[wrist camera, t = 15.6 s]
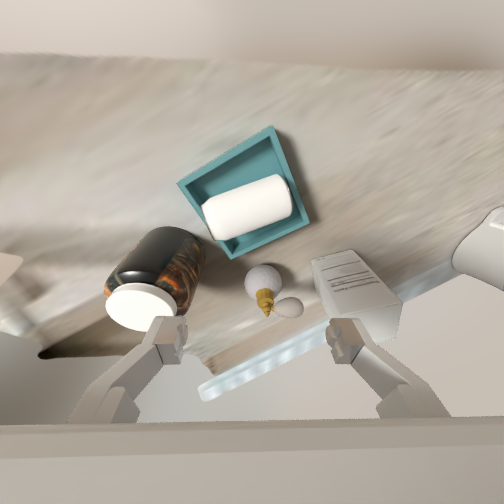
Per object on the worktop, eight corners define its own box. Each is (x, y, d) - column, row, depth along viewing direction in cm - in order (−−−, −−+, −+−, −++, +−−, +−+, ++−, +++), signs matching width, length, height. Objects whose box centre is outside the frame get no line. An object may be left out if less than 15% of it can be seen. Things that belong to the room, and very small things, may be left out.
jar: (183, 215, 34) (149, 266, 21) (214, 264, 40) (202, 326, 27) (129, 239, 36) (68, 297, 23) (166, 282, 42) (134, 347, 29)
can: (285, 170, 24) (196, 202, 24) (298, 218, 27) (216, 249, 26) (272, 175, 31) (200, 201, 30) (283, 213, 33) (216, 238, 32)
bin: (268, 126, 27) (272, 125, 24) (303, 213, 35) (309, 223, 31) (183, 177, 31) (176, 183, 27) (231, 247, 38) (230, 259, 34)
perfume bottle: (238, 266, 41) (236, 311, 30) (280, 248, 39) (294, 290, 28) (253, 289, 44) (257, 336, 34) (293, 274, 42) (309, 319, 32)
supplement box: (353, 280, 44) (398, 340, 31) (314, 289, 45) (342, 350, 32) (353, 247, 39) (406, 303, 27) (309, 258, 40) (340, 316, 28)
